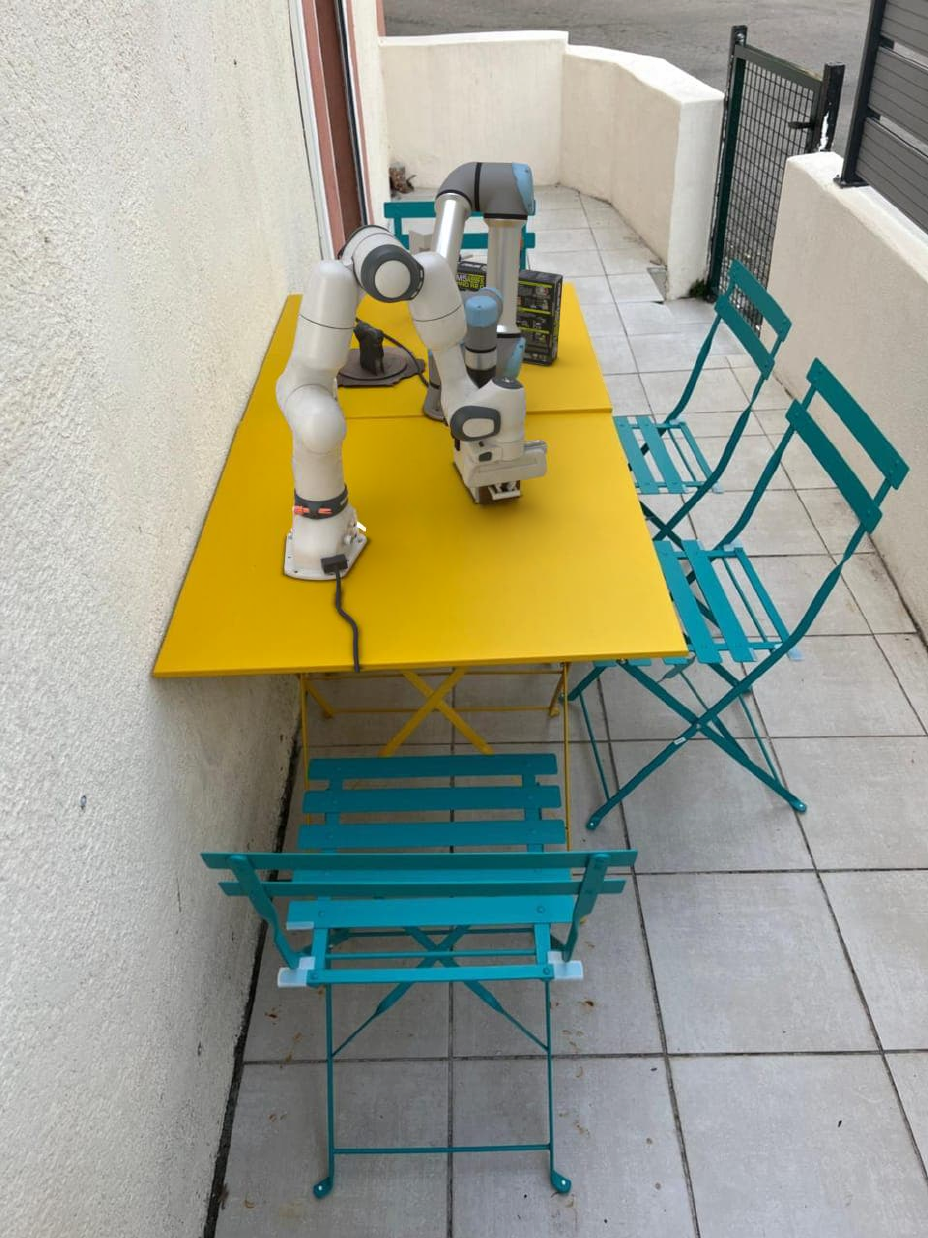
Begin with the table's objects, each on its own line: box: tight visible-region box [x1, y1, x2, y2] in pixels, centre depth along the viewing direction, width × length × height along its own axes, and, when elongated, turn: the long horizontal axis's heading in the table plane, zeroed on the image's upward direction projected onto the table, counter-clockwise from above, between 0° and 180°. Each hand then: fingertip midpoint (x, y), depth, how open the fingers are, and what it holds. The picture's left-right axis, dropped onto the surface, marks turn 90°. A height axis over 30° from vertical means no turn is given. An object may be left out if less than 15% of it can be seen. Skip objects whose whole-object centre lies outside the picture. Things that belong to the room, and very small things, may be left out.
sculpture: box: [336, 320, 426, 387], centre depth 273 cm, size 33×35×16 cm
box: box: [455, 260, 564, 367], centre depth 277 cm, size 34×7×27 cm, turn 68°
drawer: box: [478, 480, 521, 505], centre depth 219 cm, size 24×10×10 cm, turn 16°
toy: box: [408, 223, 474, 264], centre depth 298 cm, size 35×10×30 cm, turn 130°
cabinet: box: [453, 440, 479, 504], centre depth 224 cm, size 20×11×12 cm, turn 16°
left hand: (504, 495), depth 214 cm, fingers closed
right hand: (480, 445), depth 226 cm, fingers closed on cabinet, 11 cm apart
